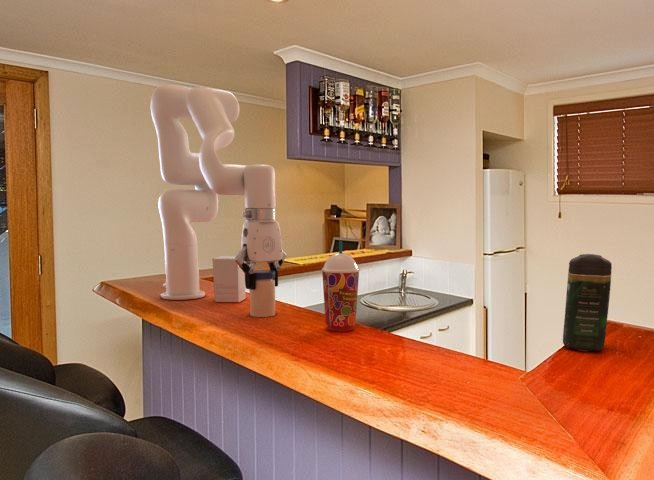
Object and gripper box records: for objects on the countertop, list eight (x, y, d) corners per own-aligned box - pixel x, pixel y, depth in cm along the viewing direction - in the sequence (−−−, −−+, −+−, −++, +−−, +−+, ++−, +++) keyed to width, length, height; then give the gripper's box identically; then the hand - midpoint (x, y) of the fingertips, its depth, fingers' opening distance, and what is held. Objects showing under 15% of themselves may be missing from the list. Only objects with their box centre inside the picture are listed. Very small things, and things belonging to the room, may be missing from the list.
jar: (244, 314, 142) (243, 274, 140) (264, 311, 147) (263, 271, 145) (261, 318, 138) (260, 276, 136) (280, 314, 143) (280, 274, 141)
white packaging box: (246, 298, 166) (245, 255, 164) (238, 302, 158) (237, 258, 156) (222, 297, 166) (220, 255, 164) (213, 302, 159) (211, 258, 157)
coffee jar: (606, 354, 106) (614, 257, 103) (561, 350, 109) (568, 255, 106) (603, 343, 115) (611, 253, 112) (562, 339, 118) (569, 251, 115)
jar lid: (280, 277, 141) (280, 271, 141) (260, 280, 136) (260, 273, 136) (263, 275, 145) (263, 269, 145) (243, 277, 140) (242, 271, 140)
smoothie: (346, 335, 121) (346, 242, 117) (314, 330, 125) (314, 240, 122) (365, 327, 128) (366, 240, 124) (335, 323, 132) (335, 238, 129)
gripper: (241, 216, 129) (243, 293, 132) (296, 215, 142) (297, 285, 145) (222, 216, 134) (224, 289, 137) (277, 215, 147) (278, 282, 150)
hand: (262, 286), depth 141 cm, fingers closed on jar lid, 6 cm apart
